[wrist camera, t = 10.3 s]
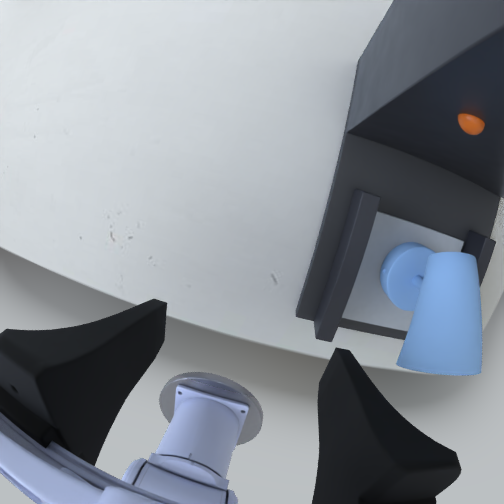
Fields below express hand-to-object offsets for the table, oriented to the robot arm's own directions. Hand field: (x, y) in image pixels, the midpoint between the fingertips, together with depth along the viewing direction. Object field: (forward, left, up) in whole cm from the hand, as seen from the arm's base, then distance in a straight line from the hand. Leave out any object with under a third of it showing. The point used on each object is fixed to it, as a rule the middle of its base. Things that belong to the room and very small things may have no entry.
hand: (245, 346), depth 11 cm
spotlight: (+2, -10, -9) cm, 14 cm away
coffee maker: (+6, -10, -10) cm, 16 cm away
